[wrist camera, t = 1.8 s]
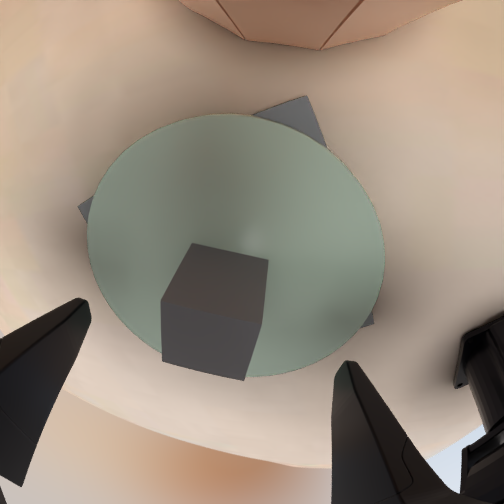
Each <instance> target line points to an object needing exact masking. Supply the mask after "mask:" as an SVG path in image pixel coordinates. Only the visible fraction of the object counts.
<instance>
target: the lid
mask: <svg viewBox="0 0 504 504" xmlns="http://www.w3.org/2000/svg"><path fill="white" fill-rule="evenodd" d="M87 246H88V253H89V259H90V264H91V267H92V270H93V273H94V277H95V279H96V282H97V284H98V286H99V288H100V290H101V292H102V294H103V296H104V298H105V299H106V301H107V303H108V304H109V306H110V307H111V309H112V310H113V311H114V312H115V314H116V315H117V316H118V318H119V319H120V320H121V321H122V322H123V323H124V324H125V325H126V326H127V327H128V328H129V330H131V331H132V332H133V333H134V334H135V335H136V336H137V337H139V338H140V339H141V340H142V341H144V342H145V343H146V344H148V345H149V346H150V347H152V348H153V349H155V350H157V351H158V352H160V353H162V361H163V362H166V363H170V364H173V365H177V366H181V367H185V368H188V369H192V370H196V371H200V372H205V373H209V374H213V375H218V376H222V377H227V378H232V379H237V380H242V381H244V379H245V377H260V376H271V375H277V374H282V373H287V372H290V371H294V370H297V369H301V368H303V367H306V366H308V365H311V364H313V363H315V362H317V361H319V360H321V359H323V358H325V357H327V356H328V355H330V354H331V353H333V352H334V351H336V350H337V349H338V348H340V347H341V346H342V345H343V344H345V343H346V342H347V341H348V340H349V339H350V338H351V337H352V336H353V335H354V334H355V333H356V332H357V331H358V329H359V328H360V327H361V326H362V325H363V323H364V322H365V320H366V319H367V317H368V316H369V314H370V313H371V311H372V309H373V307H374V304H375V302H376V300H377V298H378V295H379V292H380V288H381V285H382V281H383V275H384V267H385V250H384V240H383V235H382V231H381V226H380V223H379V220H378V217H377V215H376V212H375V209H374V207H373V205H372V203H371V201H370V199H369V198H368V196H367V194H366V192H365V191H364V189H363V187H362V186H361V184H360V183H359V182H358V181H357V179H356V178H355V177H354V176H353V174H352V173H351V172H350V171H349V170H348V168H347V167H346V166H345V165H344V164H343V162H342V161H341V160H340V159H339V158H337V157H336V156H335V155H334V154H333V153H332V152H331V151H330V150H328V149H327V148H326V147H325V146H324V145H322V144H321V143H319V142H318V141H316V140H315V139H313V138H311V137H310V136H308V135H307V134H305V133H303V132H301V131H299V130H297V129H295V128H292V127H290V126H288V125H286V124H283V123H281V122H277V121H274V120H270V119H266V118H263V117H259V116H252V115H244V114H235V113H229V114H209V115H203V116H198V117H193V118H188V119H184V120H181V121H178V122H175V123H172V124H170V125H167V126H164V127H162V128H159V129H157V130H155V131H153V132H151V133H150V134H148V135H146V136H144V137H143V138H141V139H139V140H138V141H136V142H135V143H134V144H133V145H131V146H130V147H129V148H128V149H126V150H125V151H124V152H123V153H122V154H121V155H120V156H119V157H118V158H117V159H116V161H115V162H114V163H113V164H112V165H111V166H110V167H109V169H108V170H107V172H106V174H105V175H104V177H103V178H102V180H101V182H100V183H99V185H98V188H97V190H96V192H95V195H94V197H93V200H92V204H91V208H90V212H89V216H88V225H87Z"/></svg>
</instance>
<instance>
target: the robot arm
mask: <svg viewBox="0 0 504 504" xmlns="http://www.w3.org/2000/svg"><path fill="white" fill-rule="evenodd" d="M90 323H91V313H90V308H89V304H88V302H87V300H84V299H82V298H75V299H73V300H71V301H69V302H67V303H65V304H63V305H61V306H60V307H58V308H56V309H54V310H52V311H50V312H48V313H46V314H44V315H43V316H41V317H39V318H37V319H35V320H33V321H31V322H30V323H28V324H26V325H24V326H22V327H20V328H19V329H17V330H15V331H13V332H11V333H10V334H8V335H6V336H4V337H3V338H0V475H1V476H3V477H4V478H6V479H8V480H9V481H11V482H13V483H15V484H16V485H18V486H20V487H22V485H23V483H24V479H25V476H26V474H27V471H28V468H29V465H30V462H31V459H32V456H33V454H34V451H35V449H36V446H37V443H38V441H39V438H40V436H41V433H42V431H43V428H44V426H45V423H46V421H47V419H48V417H49V414H50V412H51V410H52V408H53V405H54V403H55V401H56V399H57V397H58V394H59V392H60V390H61V388H62V386H63V384H64V382H65V380H66V378H67V376H68V374H69V372H70V370H71V368H72V366H73V364H74V362H75V360H76V358H77V355H78V353H79V351H80V348H81V345H82V343H83V340H84V338H85V335H86V333H87V331H88V328H89V326H90ZM468 384H469V386H470V389H471V391H472V394H473V397H474V399H475V402H476V405H477V408H478V411H479V413H480V416H481V419H482V423H483V425H484V429H485V432H486V435H484V436H483V437H481V438H480V439H479V440H477V441H476V442H475V443H473V444H471V445H468V446H466V447H465V448H463V449H462V465H461V467H462V468H461V485H460V494H458V493H456V492H454V491H452V490H451V489H450V488H448V487H447V486H446V485H445V484H444V482H443V481H442V480H441V479H440V478H439V476H438V475H437V474H436V473H435V472H434V471H433V469H432V468H431V467H430V466H429V464H428V463H427V462H426V461H425V459H424V458H423V457H422V456H421V454H420V453H419V451H418V450H417V449H416V447H415V446H414V444H413V443H412V441H411V440H410V438H409V437H407V434H406V433H405V431H404V430H403V428H402V427H401V425H400V424H399V422H398V421H397V419H396V418H395V416H394V415H393V413H392V412H391V411H390V409H389V408H388V406H387V405H386V403H385V402H384V400H383V399H382V397H381V396H380V395H379V393H378V392H377V390H376V389H375V387H374V386H373V384H372V383H371V382H370V380H369V379H368V377H367V376H366V374H365V373H364V372H363V370H362V369H361V367H360V366H359V364H358V363H357V362H355V361H344V363H343V364H342V365H341V367H340V368H339V370H338V371H337V373H336V375H335V378H334V389H333V402H332V415H331V430H332V497H331V500H332V501H331V504H504V316H503V317H501V318H499V319H497V320H495V321H493V322H491V323H489V324H487V325H485V326H483V327H480V328H478V329H476V330H474V331H471V332H469V333H467V334H466V335H465V336H464V337H463V338H462V341H461V347H460V353H459V358H458V364H457V369H456V373H455V378H454V382H453V385H454V388H455V389H458V388H461V387H463V386H465V385H468ZM0 504H7V503H6V501H5V498H4V495H3V492H2V490H1V487H0Z"/></svg>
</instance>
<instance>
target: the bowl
mask: <svg viewBox="0 0 504 504" xmlns="http://www.w3.org/2000/svg"><path fill="white" fill-rule="evenodd" d="M179 1H180V2H181V3H183V4H184V5H185V6H186V7H188V8H189V9H190V10H192V11H194V12H196V13H198V14H200V15H202V16H204V17H206V18H208V19H210V20H212V21H213V22H215V23H217V24H219V25H221V26H222V27H224V28H226V29H228V30H229V31H231V32H233V33H234V34H236V35H238V36H239V37H241V38H243V39H244V40H245V39H246V40H248V41H259V42H268V43H277V44H284V45H291V46H297V47H303V48H309V49H314V50H319V49H320V50H323V49H327V48H331V47H335V46H339V45H343V44H347V43H351V42H355V41H360V40H365V39H370V38H375V37H380V36H384V35H386V34H388V33H390V32H392V31H393V30H395V29H397V28H399V27H401V26H404V25H406V24H408V23H410V22H412V21H414V20H416V19H418V18H420V17H423V16H425V15H427V14H429V13H432V12H434V11H436V10H439V9H441V8H443V7H446V6H448V5H451V4H453V3H456V2H459V1H461V0H179Z"/></svg>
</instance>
